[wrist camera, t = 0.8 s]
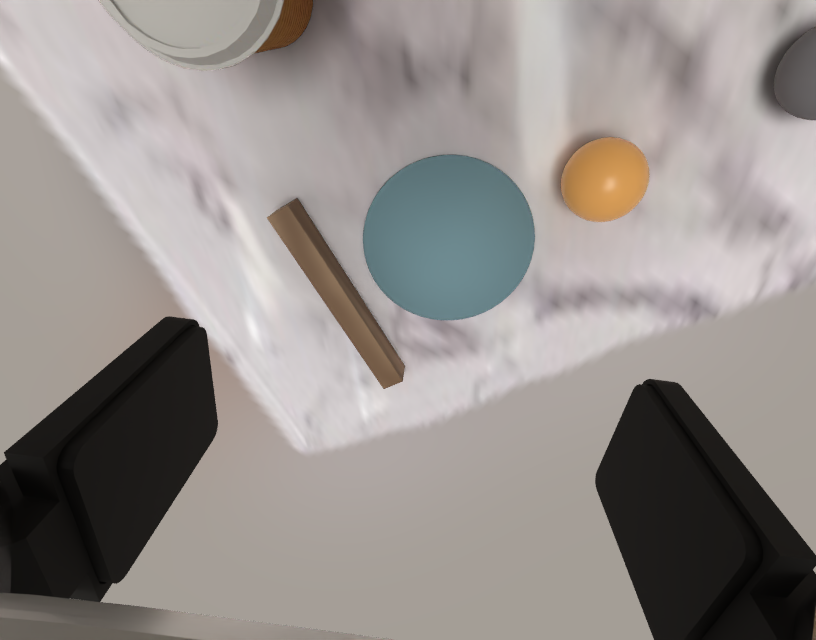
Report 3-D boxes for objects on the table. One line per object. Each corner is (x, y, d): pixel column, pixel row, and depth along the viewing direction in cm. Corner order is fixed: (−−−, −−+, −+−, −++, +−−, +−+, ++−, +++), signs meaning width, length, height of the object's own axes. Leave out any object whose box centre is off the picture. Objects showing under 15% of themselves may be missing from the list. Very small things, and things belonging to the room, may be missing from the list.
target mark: (491, 118, 32) (492, 118, 32) (558, 278, 37) (559, 279, 37) (331, 208, 36) (330, 209, 35) (413, 342, 41) (413, 343, 41)
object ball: (618, 118, 31) (651, 124, 26) (639, 189, 33) (674, 207, 28) (542, 157, 33) (560, 170, 28) (567, 223, 35) (588, 245, 30)
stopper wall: (297, 198, 35) (287, 205, 33) (404, 365, 42) (402, 381, 40) (277, 209, 36) (266, 217, 34) (386, 373, 43) (383, 389, 41)
